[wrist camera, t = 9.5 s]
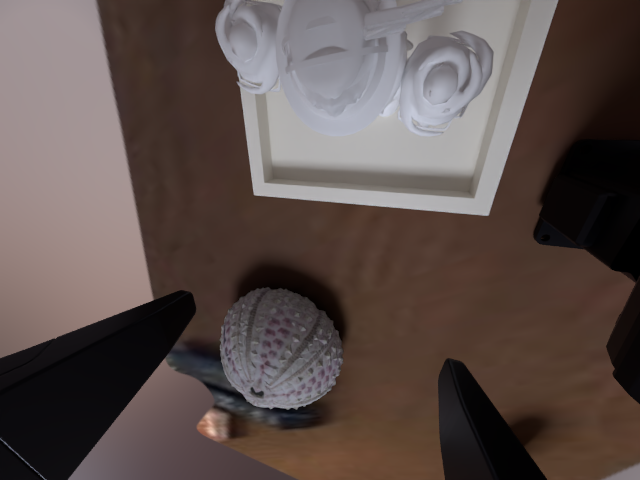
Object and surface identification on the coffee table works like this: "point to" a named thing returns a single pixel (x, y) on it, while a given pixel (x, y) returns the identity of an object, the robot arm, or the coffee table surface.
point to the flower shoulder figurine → (354, 61)
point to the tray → (396, 140)
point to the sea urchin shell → (279, 349)
